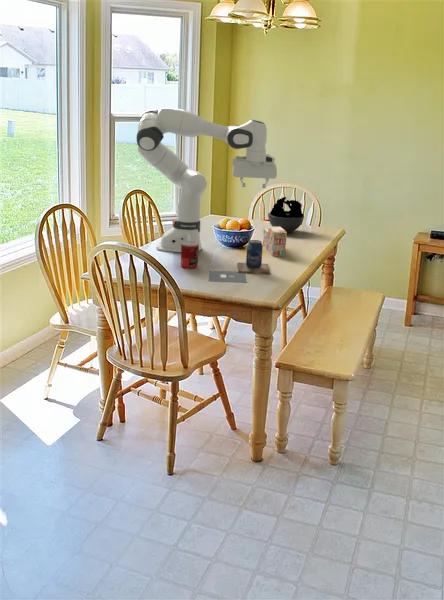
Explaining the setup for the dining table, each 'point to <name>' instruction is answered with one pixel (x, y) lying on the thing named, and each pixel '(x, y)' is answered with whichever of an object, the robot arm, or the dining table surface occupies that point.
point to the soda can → (254, 254)
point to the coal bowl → (286, 215)
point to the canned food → (189, 254)
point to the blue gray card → (227, 276)
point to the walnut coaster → (244, 269)
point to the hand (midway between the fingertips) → (253, 187)
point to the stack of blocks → (275, 240)
